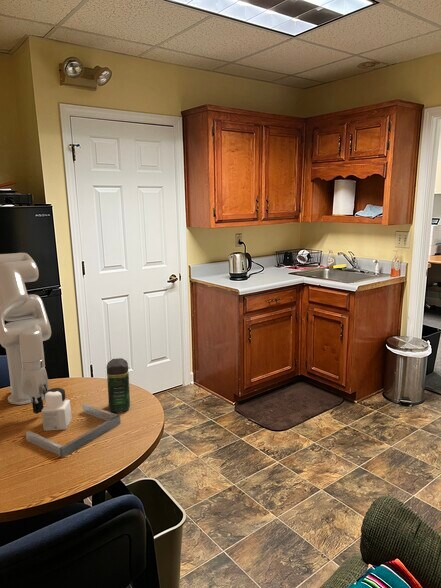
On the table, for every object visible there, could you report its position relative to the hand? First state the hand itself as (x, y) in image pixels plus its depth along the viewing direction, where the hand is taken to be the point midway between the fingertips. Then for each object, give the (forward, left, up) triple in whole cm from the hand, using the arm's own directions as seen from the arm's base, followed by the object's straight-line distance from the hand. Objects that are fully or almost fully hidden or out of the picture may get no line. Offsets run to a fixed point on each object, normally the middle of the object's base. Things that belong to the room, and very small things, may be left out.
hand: (38, 411), depth 161 cm
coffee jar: (+19, +21, -2) cm, 29 cm away
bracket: (+20, 0, -2) cm, 21 cm away
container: (+10, 0, -2) cm, 11 cm away
